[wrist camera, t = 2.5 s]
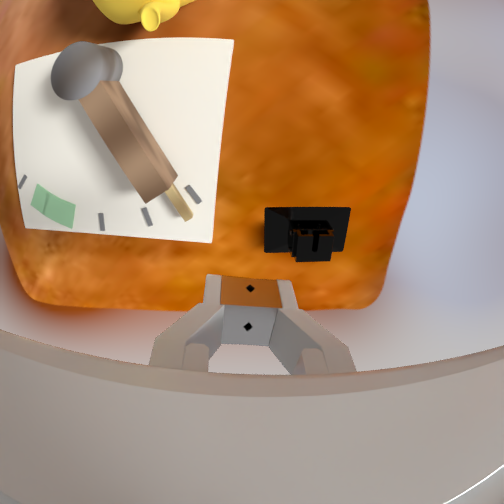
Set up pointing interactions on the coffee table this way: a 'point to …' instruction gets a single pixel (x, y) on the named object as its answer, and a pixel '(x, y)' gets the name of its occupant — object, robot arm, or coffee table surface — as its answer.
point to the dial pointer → (116, 118)
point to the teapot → (140, 11)
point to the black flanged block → (306, 231)
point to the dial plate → (101, 159)
